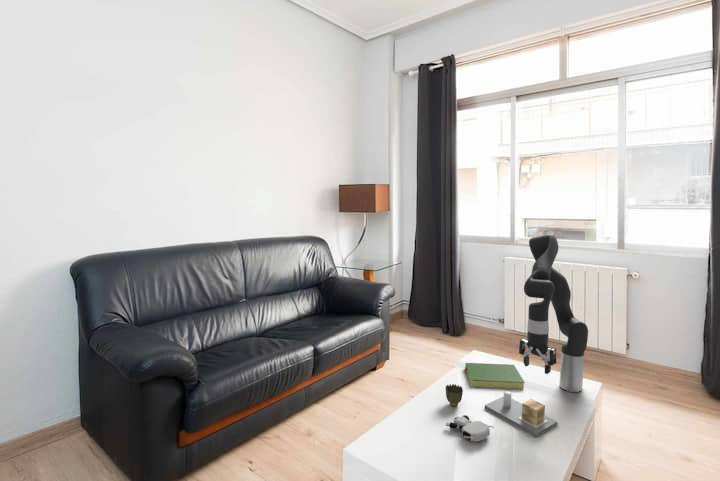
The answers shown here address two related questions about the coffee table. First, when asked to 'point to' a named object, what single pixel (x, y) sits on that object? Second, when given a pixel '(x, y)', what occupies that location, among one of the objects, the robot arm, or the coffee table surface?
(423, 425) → the coffee table surface
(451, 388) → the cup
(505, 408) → the post board
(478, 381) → the hardcover book
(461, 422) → the robot toy
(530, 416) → the cardboard box
